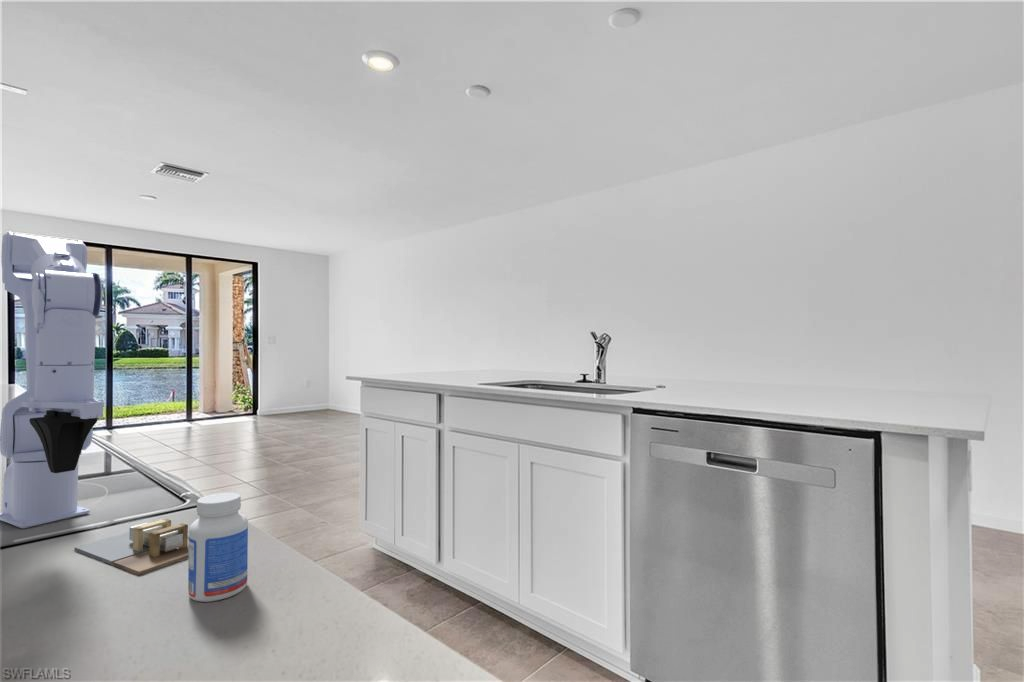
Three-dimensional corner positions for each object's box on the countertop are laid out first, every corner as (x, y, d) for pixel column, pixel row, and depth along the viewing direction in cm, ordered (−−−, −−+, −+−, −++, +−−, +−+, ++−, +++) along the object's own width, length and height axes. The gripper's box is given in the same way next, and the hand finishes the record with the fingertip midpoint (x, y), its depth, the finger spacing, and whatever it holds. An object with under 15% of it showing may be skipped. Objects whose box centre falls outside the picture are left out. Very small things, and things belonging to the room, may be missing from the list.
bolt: (129, 539, 65) (129, 527, 65) (146, 534, 67) (146, 522, 67) (165, 551, 62) (165, 538, 62) (182, 546, 63) (182, 533, 63)
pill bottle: (258, 580, 56) (259, 491, 56) (225, 605, 51) (228, 506, 51) (211, 577, 57) (213, 489, 57) (174, 601, 51) (176, 504, 51)
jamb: (113, 565, 59) (114, 538, 59) (199, 537, 68) (199, 514, 68) (139, 575, 57) (139, 547, 57) (224, 545, 66) (225, 521, 66)
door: (74, 550, 64) (75, 525, 64) (160, 526, 72) (160, 504, 72) (111, 564, 60) (112, 537, 60) (197, 537, 68) (198, 513, 69)
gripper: (-1, 364, 65) (-4, 470, 65) (53, 367, 59) (50, 485, 58) (67, 363, 72) (64, 460, 71) (123, 365, 65) (120, 473, 65)
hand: (62, 471), depth 65 cm, fingers closed
